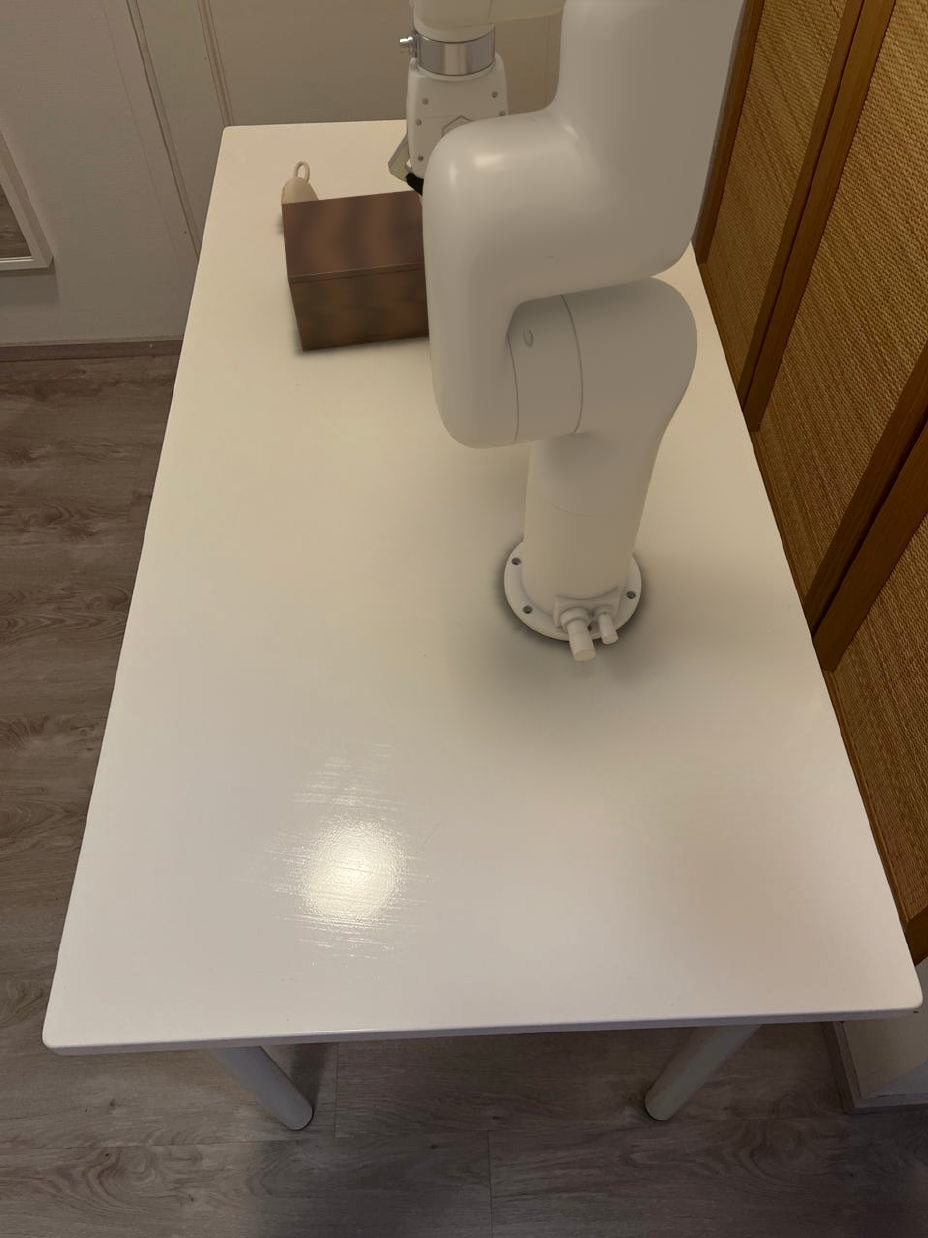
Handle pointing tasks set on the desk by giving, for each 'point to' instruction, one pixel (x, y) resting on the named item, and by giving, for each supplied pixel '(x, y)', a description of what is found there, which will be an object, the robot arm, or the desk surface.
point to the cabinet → (356, 269)
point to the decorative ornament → (298, 187)
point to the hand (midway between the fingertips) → (458, 223)
